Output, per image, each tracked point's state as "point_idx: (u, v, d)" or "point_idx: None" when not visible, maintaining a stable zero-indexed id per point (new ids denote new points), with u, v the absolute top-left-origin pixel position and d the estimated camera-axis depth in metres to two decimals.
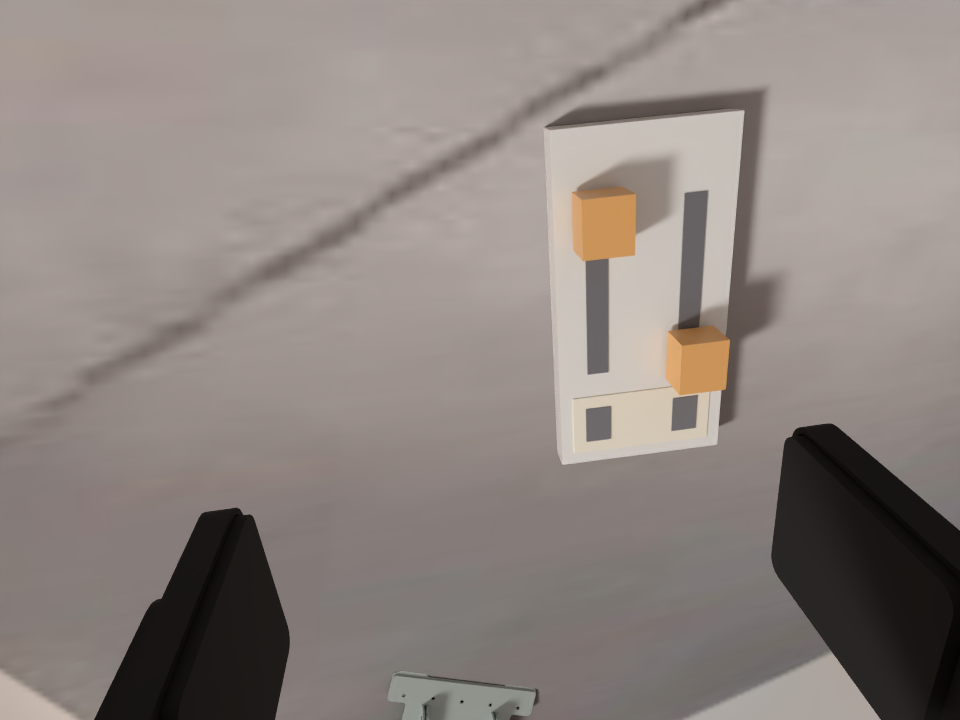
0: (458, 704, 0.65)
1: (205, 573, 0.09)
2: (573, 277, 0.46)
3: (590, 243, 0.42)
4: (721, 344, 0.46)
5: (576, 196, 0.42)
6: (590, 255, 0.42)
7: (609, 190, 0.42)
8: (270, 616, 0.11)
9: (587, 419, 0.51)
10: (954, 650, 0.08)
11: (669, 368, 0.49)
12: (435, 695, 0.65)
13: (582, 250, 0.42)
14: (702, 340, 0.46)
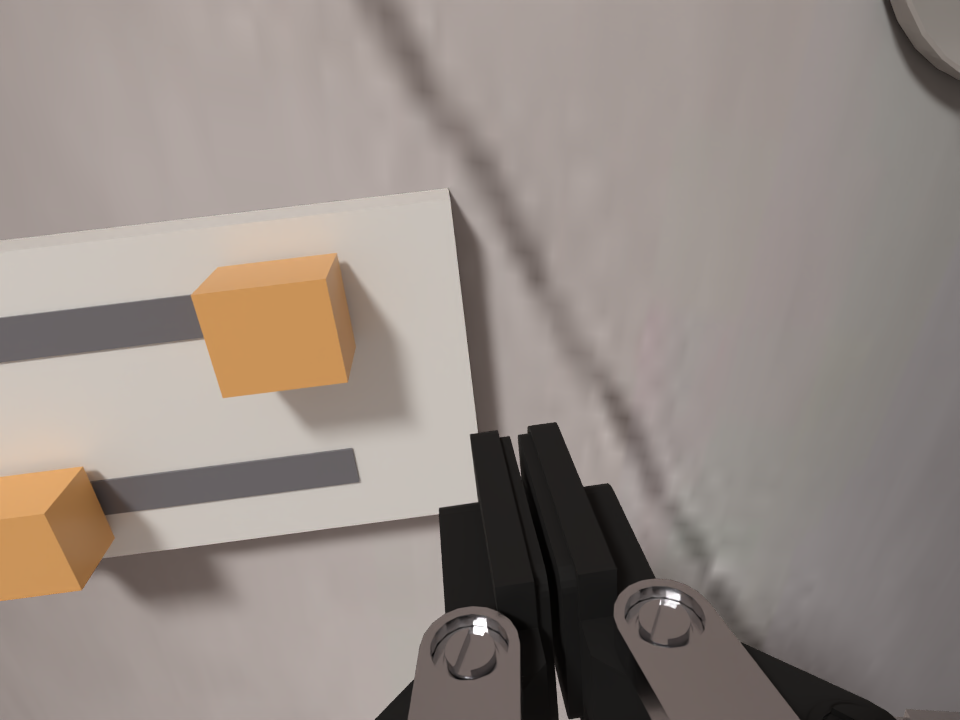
0: None
1: (507, 476, 0.10)
2: (157, 272, 0.22)
3: (232, 307, 0.19)
4: (67, 579, 0.23)
5: (330, 264, 0.21)
6: (206, 309, 0.19)
7: (347, 326, 0.22)
8: None
9: None
10: (575, 624, 0.09)
11: None
12: None
13: (215, 291, 0.19)
14: (69, 542, 0.23)
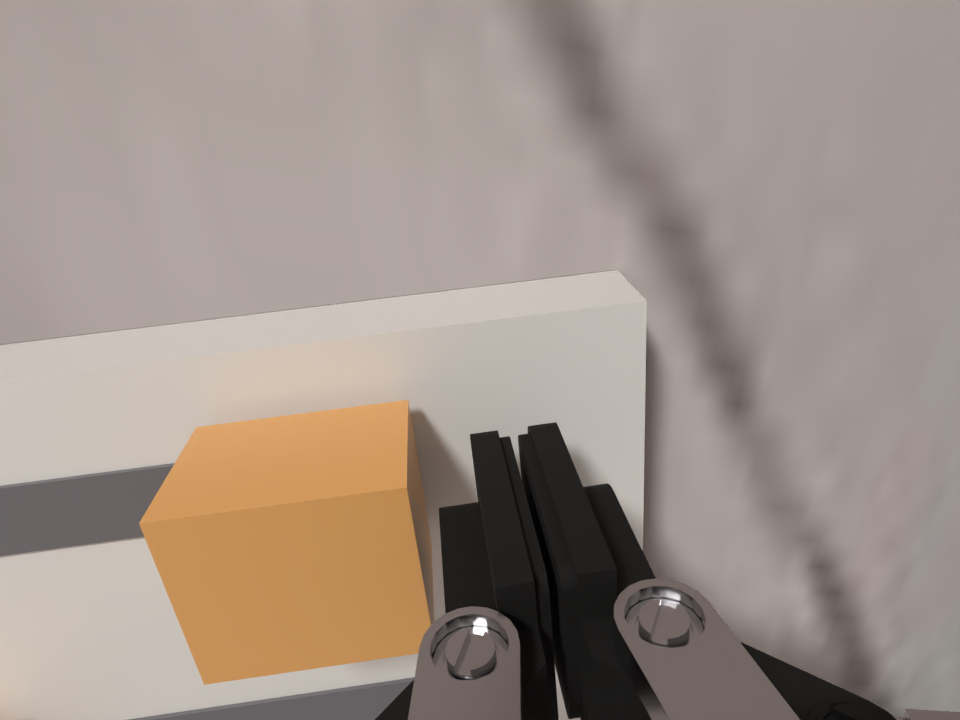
0: None
1: (507, 476, 0.10)
2: (129, 428, 0.12)
3: (222, 541, 0.10)
4: None
5: (404, 437, 0.11)
6: (171, 547, 0.10)
7: (425, 525, 0.13)
8: None
9: None
10: (575, 625, 0.09)
11: None
12: None
13: (188, 512, 0.10)
14: None
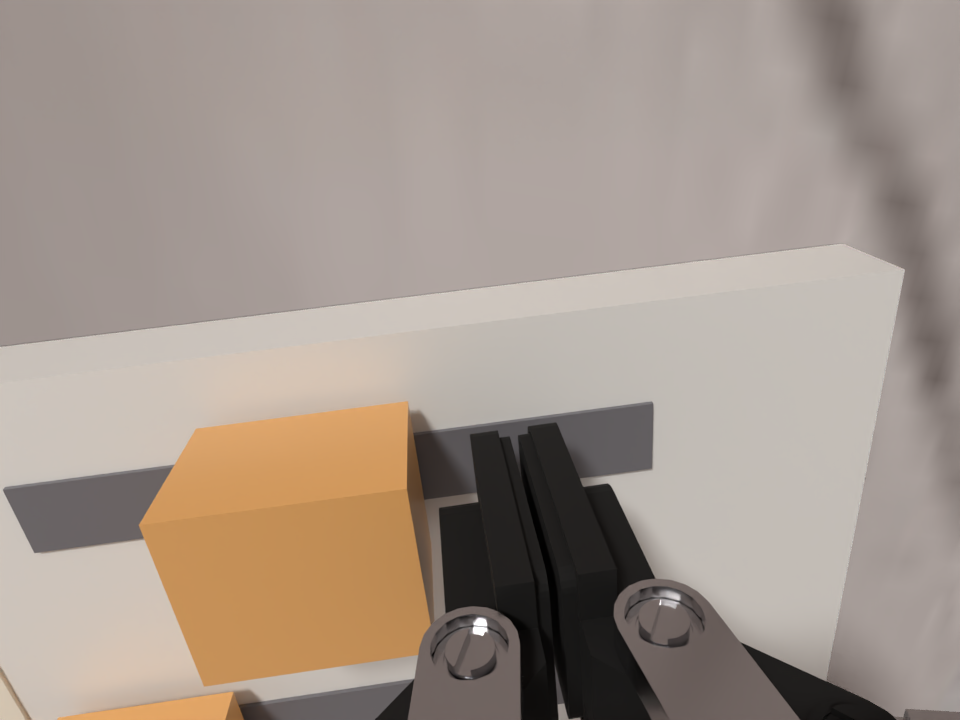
0: None
1: (507, 476, 0.10)
2: (395, 395, 0.13)
3: (222, 543, 0.10)
4: None
5: (403, 438, 0.11)
6: (171, 549, 0.10)
7: (424, 527, 0.13)
8: None
9: None
10: (575, 624, 0.09)
11: None
12: None
13: (188, 514, 0.10)
14: None
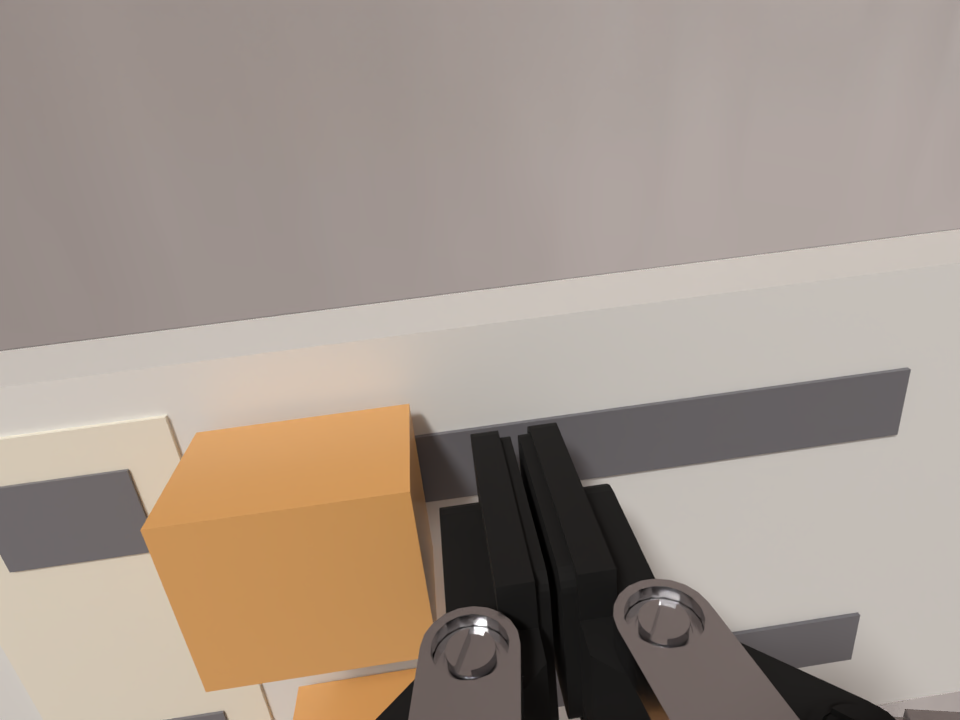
0: None
1: (507, 476, 0.10)
2: (670, 361, 0.13)
3: (225, 547, 0.10)
4: None
5: (406, 441, 0.11)
6: (173, 553, 0.10)
7: (426, 530, 0.12)
8: None
9: (80, 481, 0.13)
10: (575, 625, 0.09)
11: (345, 703, 0.15)
12: None
13: (190, 518, 0.10)
14: None
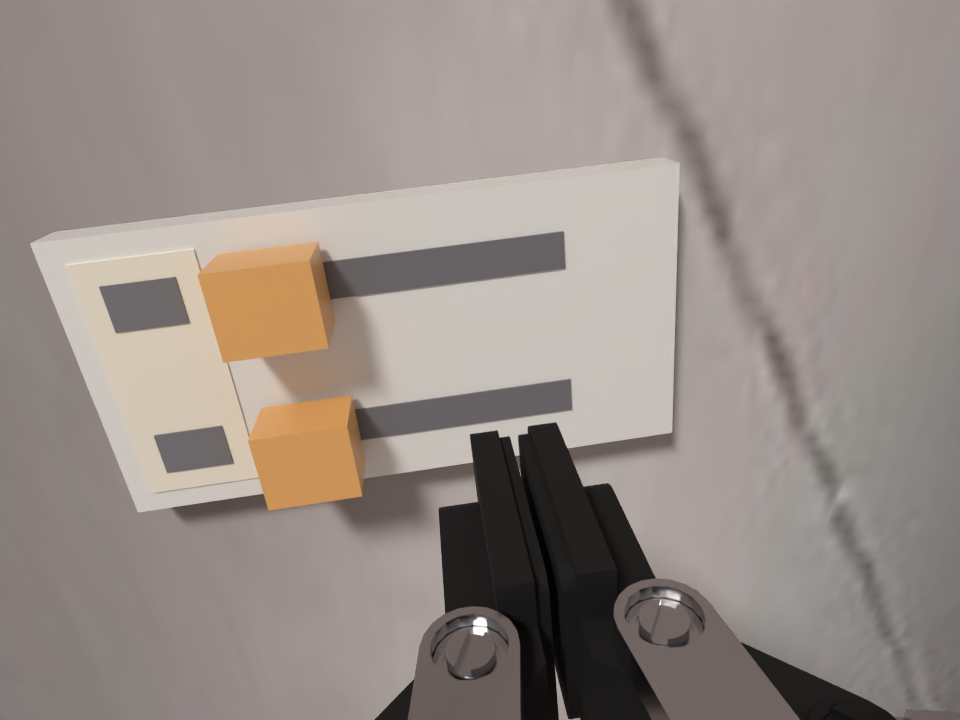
0: None
1: (507, 476, 0.10)
2: (439, 225, 0.27)
3: (231, 285, 0.23)
4: (352, 486, 0.27)
5: (312, 250, 0.25)
6: (210, 287, 0.23)
7: (327, 303, 0.26)
8: None
9: (152, 282, 0.26)
10: (575, 625, 0.09)
11: (285, 411, 0.28)
12: None
13: (217, 271, 0.23)
14: (355, 454, 0.27)
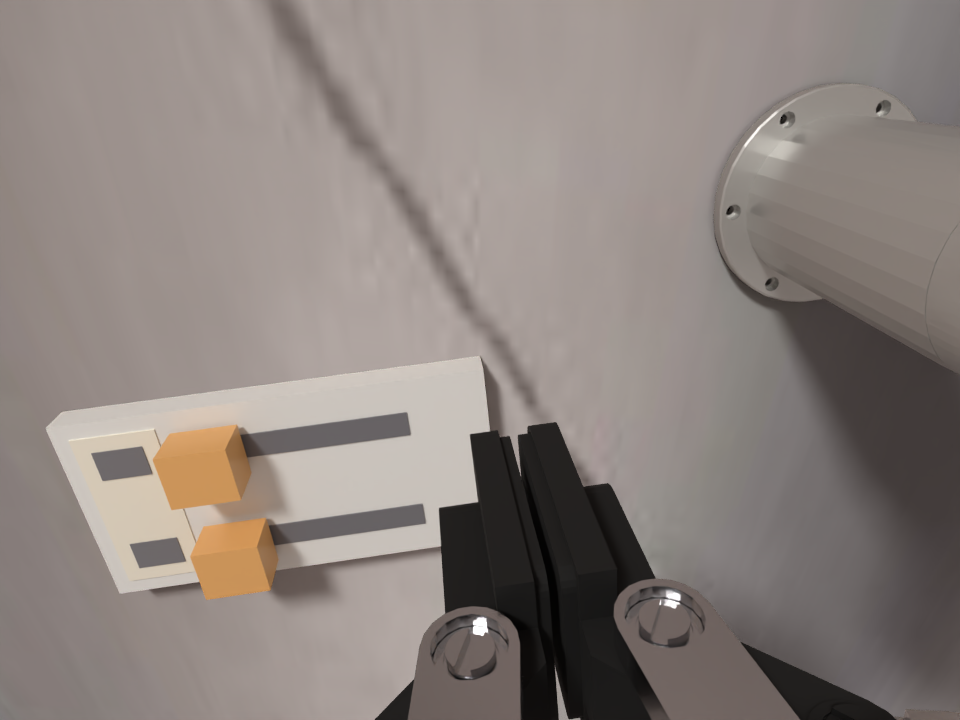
0: None
1: (507, 476, 0.10)
2: (319, 410, 0.39)
3: (175, 465, 0.36)
4: (263, 584, 0.40)
5: (230, 436, 0.37)
6: (161, 466, 0.36)
7: (243, 464, 0.39)
8: None
9: (126, 450, 0.39)
10: (575, 625, 0.09)
11: (218, 530, 0.41)
12: None
13: (165, 457, 0.36)
14: (265, 562, 0.40)
